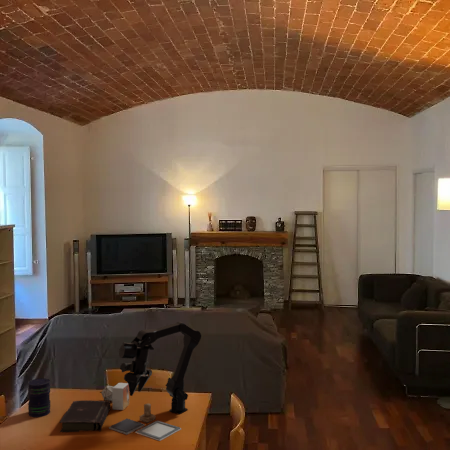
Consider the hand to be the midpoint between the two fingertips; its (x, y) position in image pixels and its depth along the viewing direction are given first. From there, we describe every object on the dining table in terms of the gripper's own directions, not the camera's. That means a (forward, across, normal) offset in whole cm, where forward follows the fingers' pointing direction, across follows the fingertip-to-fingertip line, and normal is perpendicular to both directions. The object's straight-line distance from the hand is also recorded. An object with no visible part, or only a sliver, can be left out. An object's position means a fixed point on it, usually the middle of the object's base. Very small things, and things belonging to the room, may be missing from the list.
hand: (135, 393), depth 237 cm
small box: (+12, -16, -12) cm, 24 cm away
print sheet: (+12, +5, +15) cm, 20 cm away
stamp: (+12, -5, +6) cm, 14 cm away
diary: (+17, +2, -21) cm, 27 cm away
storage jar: (+19, 0, -45) cm, 49 cm away
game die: (+13, -21, -21) cm, 32 cm away
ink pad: (+14, +4, +1) cm, 14 cm away
